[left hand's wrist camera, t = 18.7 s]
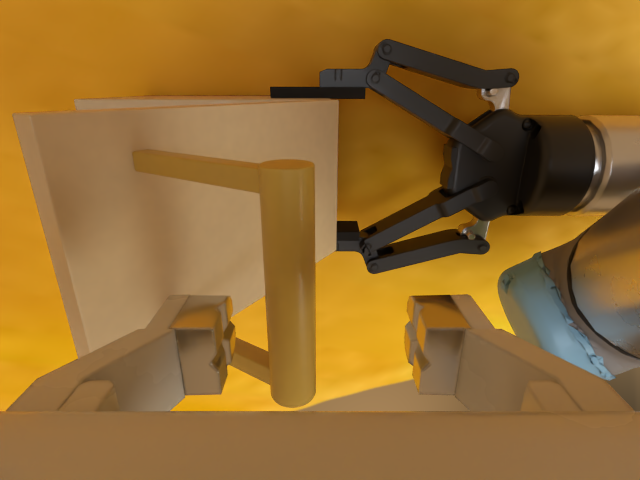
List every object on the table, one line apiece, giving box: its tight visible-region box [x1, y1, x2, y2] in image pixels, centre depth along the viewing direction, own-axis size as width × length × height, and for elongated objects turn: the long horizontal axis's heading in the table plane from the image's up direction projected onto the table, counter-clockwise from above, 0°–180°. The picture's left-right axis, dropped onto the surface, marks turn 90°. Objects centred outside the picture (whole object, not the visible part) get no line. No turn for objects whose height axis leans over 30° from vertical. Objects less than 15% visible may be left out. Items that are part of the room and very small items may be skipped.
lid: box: [12, 100, 339, 408], centre depth 17 cm, size 17×10×8 cm
